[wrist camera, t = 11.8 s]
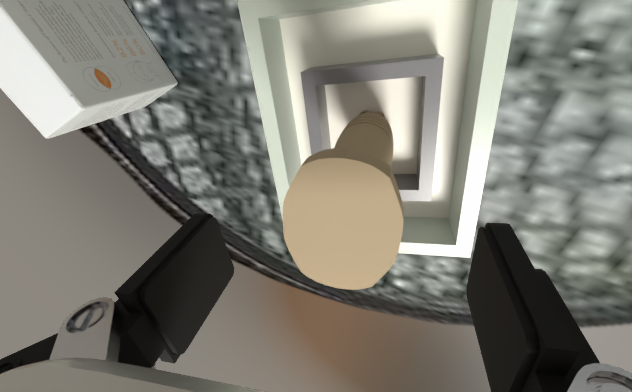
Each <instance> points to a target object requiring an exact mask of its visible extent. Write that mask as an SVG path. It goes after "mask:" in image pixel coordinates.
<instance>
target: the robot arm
mask: <svg viewBox="0 0 632 392" xmlns="http://www.w3.org/2000/svg"><path fill="white" fill-rule="evenodd" d="M233 273H234V266H233V264H232V261H231V258H230V255H229V252H228V250H227V247H226V244H225V241H224V239H223V236H222V233H221V230H220V228H219V225H218V222H217V220H216V219H215V218H214V217H213V216H212V215H211V214H202V213H197V214H194V215H193V216H192V217H191V218H190V219H189V220H188V221H187V222H186V223H185V224H184V225H183V226H182V227H181V228H180V229H179V230H178V231H177V232H176V233H175V234H174V235H173V236H172V237H171V238H170V239H169V240H168V241H167V242H166V243H165V244H164V245H162V247H160V248H159V250H157V251H156V252H155V253H154V254H153V255H152V257H150V258H149V259H148V260H147V261H146V262H145V263H144V264H143V265H142V266H141V267H140V268H139V269H138V270H137V271H136V272H135V273H134V274H133V275H132V276H131V277H130V278H129V279H128V280H127V281H126V282H125V283H124V284H123V285H122V286H121V287H120V288H119V289H118V290H117V291H116V292H115V294H116V295H117V297H118V298H119V299H118V300H117V301H116V302H114V301H113V300H112V299H111V298H107V297H103V298H98V299H94V300H91V301H89V302H87V303H85V304H83V305H82V306H80V307H78V308H77V309H76V310H74V311H73V312H72V313H71V314H70V315H69V316H68V317H67V318H66V319H65V320H64V322H63V323H62V326H61V327H60V330H59V333H57V334H55V335H53V336H51V337H49V338H46V339H45V340H42V341H40V342H38V343H35V344H33V345H31V346H29V347H27V348H24V349H22V350H20V351H18V352H16V353H14V354H11V355H9V356H7V357H5V358H3V359H1V360H0V392H265V391H260V390H256V389H250V388H246V387H240V386H236V385H231V384H226V383H221V382H216V381H212V380H207V379H201V378H196V377H191V376H186V375H181V374H176V373H171V372H166V371H161V370H156V369H155V366H156V364H155V362H156V361H157V359H158V358H160V359H161V360H162V361H165V362H170V363H175V362H176V361H177V359H178V358H179V356H180V354H183V353H184V352H185V351H186V349H187V348H188V347H189V345H190V343H191V342H192V340H193V339H194V337H195V335H196V334H197V332H198V331H199V329H200V327H201V326H202V324H203V323H204V321H205V319H206V318H207V316H208V315H209V313H210V311H211V310H212V308H213V307H214V305H215V303H216V302H217V300H218V298H219V297H220V295H221V294H222V292H223V291H224V289H225V287H226V286H227V284H228V283H229V281H230V279H231V278H232V276H233ZM467 299H468V303H469V307H470V311H471V315H472V319H473V323H474V327H475V330H476V334H477V338H478V342H479V345H480V349H481V354H482V357H483V361H484V365H485V369H486V373H487V376H488V381H489V385H490V388H491V392H632V373H630V372H628V371H626V370H624V369H622V368H619V367H615V366H612V365H608V364H600V363H599V360H598V359H597V357H596V355H595V354H594V352H593V350H592V349H591V347H590V345H589V344H588V342H587V340H586V339H585V337H584V335H583V334H582V332H581V330H580V328H579V327H578V325H577V323H576V322H575V320H574V318H573V317H572V315H571V313H570V312H569V310H568V308H567V307H566V305H565V303H564V301H563V300H562V298H561V296H560V295H559V293H558V291H557V290H556V288H555V286H554V285H553V283H552V281H551V280H550V278H549V276H548V275H547V274H546V272H545V271H543V270H542V269H534V267H533V265H532V263H531V262H530V260H529V258H528V256H527V254H526V253H525V251H524V249H523V247H522V245H521V244H520V242H519V240H518V238H517V236H516V235H515V233H514V231H513V229H512V227H511V226H510V224H506V223H487V224H486V225H485V227H480V228H479V230H478V234H477V239H476V244H475V249H474V254H473V259H472V264H471V268H470V273H469V278H468V283H467Z"/></svg>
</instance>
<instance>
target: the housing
mask: <svg viewBox="0 0 632 392" xmlns="http://www.w3.org/2000/svg"><path fill="white" fill-rule="evenodd" d="M237 2H238V7H239V12H240V17H241V21H242V26H243V31H244V36H245V41H246V46H247V50H248V55H249V60H250V65H251V70H252V74H253V79H254V84H255V89H256V94H257V98H258V103H259V108H260V113H261V118H262V122H263V127H264V132H265V137H266V142H267V146H268V151H269V156H270V161H271V166H272V170H273V175H274V180H275V185H276V190H277V194H278V199H279V204H280V209H281V214H282V218H283V202H284V199H285V196H286V193H287V191H288V189H289V187H290V185H291V183H292V181H293V179H294V178H295V176H296V174H297V172H298V170H299V168H300V167H301V165H302V164H303V163H304V161H305V160H306V159H307V158H308V157H309V156H311V155H313V154H315V153H317V152H320V151H323V150H325V149H332V148H334V147H335V145H336V142H337V140H338V138H339V136H340V134H341V133H342V131H343V130H344V128H345V127H346V126H347V125H348V123H349V122H350V121H351V120H352V119H354V118H355V117H356V116H358V115H359V113H360V112H362V111H364V110H368V111H370V112H378V111H381V112H382V113H384V115H385V119H386V120H387V122H388V123H389V125H390V127H391V130H392V134H393V143H394V146H393V158H392V163H391V169H392V172H393V174H394V177H395V180H396V183H397V186H398V189H399V192H400V196H401V199H402V203H403V207H404V224H403V232H402V237H401V242H400V246H399V251H398V253H406V254H422V255H437V256H452V257H467V258H470V256H471V251H472V245H473V240H474V235H475V229H476V224H477V218H478V213H479V208H480V202H481V197H482V191H483V186H484V181H485V175H486V170H487V164H488V159H489V154H490V148H491V143H492V138H493V132H494V127H495V121H496V116H497V111H498V105H499V100H500V94H501V89H502V84H503V78H504V73H505V68H506V62H507V57H508V51H509V46H510V41H511V35H512V30H513V24H514V19H515V14H516V8H517V3H518V0H237Z"/></svg>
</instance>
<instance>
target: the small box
mask: <svg viewBox="0 0 632 392" xmlns="http://www.w3.org/2000/svg"><path fill="white" fill-rule="evenodd" d="M177 84H178V82H177V80H176V79H175V77H174V76H173V74H172V73H171V71H170V70H169V68H168V67H167V65H166V64H165V62H164V61H163V59H162V58H161V56H160V55H159V53H158V52H157V50H156V49H155V47H154V46H153V44H152V43H151V41H150V40H149V38H148V37H147V35H146V33H145V32H144V30H143V29H142V27H141V26H140V24H139V23H138V22H137V20H136V19H135V17H134V15H133V14H132V12H131V11H130V9H129V8H128V6H127V5H126V3H125V2H124V0H0V88H1V89H2V90H3V92H4V93H5V94H6V95H7V96H8V97H9V98H10V99H11V100H12V102H14V104H15V105H16V106H17V107H18V108H19V109H20V110H21V111H22V113H23V114H24V115H25V116H26V117H27V118H28V119H29V120H30V121H31V122H32V124H33V125H34V126H35V127H36V128H37V129H38V130H39V132H40V133H41V134H42V135H43V136H44V137H45V138H52V137H55V136H58V135H61V134H64V133H67V132H70V131H73V130H76V129H79V128H82V127H85V126H88V125H91V124H95V123H98V122H101V121H104V120H107V119H110V118H113V117H116V116H119V115H122V114H125V113H128V112H131V111H134V110H137V109H140V108H143V107H145V106H147V105H148V104H150V103H151V102H153V101H154V100H156V99H157V98H158V97H160V96H161V95H163V94H164V93H166V92H167V91H169V90H170V89H171V88H173V87H174V86H175V85H177Z"/></svg>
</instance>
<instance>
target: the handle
mask: <svg viewBox="0 0 632 392" xmlns="http://www.w3.org/2000/svg"><path fill="white" fill-rule="evenodd" d="M393 146H394V143H393V134H392V130H391V127H390V125H389V123H388V122H387V120H386V119H385V115H384V113H382V112H381V111H378V112H370V111H368V110H364V111H362V112H360V113H359V115H358V116H356V117H355V118H354V119H352V120H351V121H350V122H349V123H348V125H347V126H346V127H345V128H344V130H343V131H342V133H341V134H340V136H339V138H338V140H337V142H336V145H335V147H334V148H332V149H325V150H323V151H320V152H317V153H315V154H313V155H311V156H309V157H308V158H307V159H306V160H305V161H304V163H303V164H302V165H301V167H300V168H299V170H298V172H297V174H296V176H295V178H294V179H293V181H292V183H291V185H290V187H289V189H288V191H287V193H286V196H285V199H284V202H283V232H284V238H285V242H286V245H287V247H288V250H289V251H290V253H291V255H292V257H293V259H294V261H295V262H296V264H297V266H298V267H299V269H300V271H301V272H302V273H303V274H305V275H306V276H307V277H309V278H311V279H312V280H314V281H316V282H319V283H321V284H324V285H328V286H331V287H335V288H341V289H355V290H356V289H364V288H368V287H372V286H373V285H374V284H375V283H376V282H377V281H378V280H379V279H380V278H381V277H382V276H383V275H384V274H385V273H386V272H387V271H388V270H389V269H390V267H391V266H392V265H393V263H394V262H395V260H396V257H397V254H398V251H399V246H400V242H401V237H402V232H403V224H404V207H403V203H402V199H401V196H400V192H399V189H398V186H397V183H396V180H395V177H394V174H393V172H392V169H391V163H392V158H393Z"/></svg>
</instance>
